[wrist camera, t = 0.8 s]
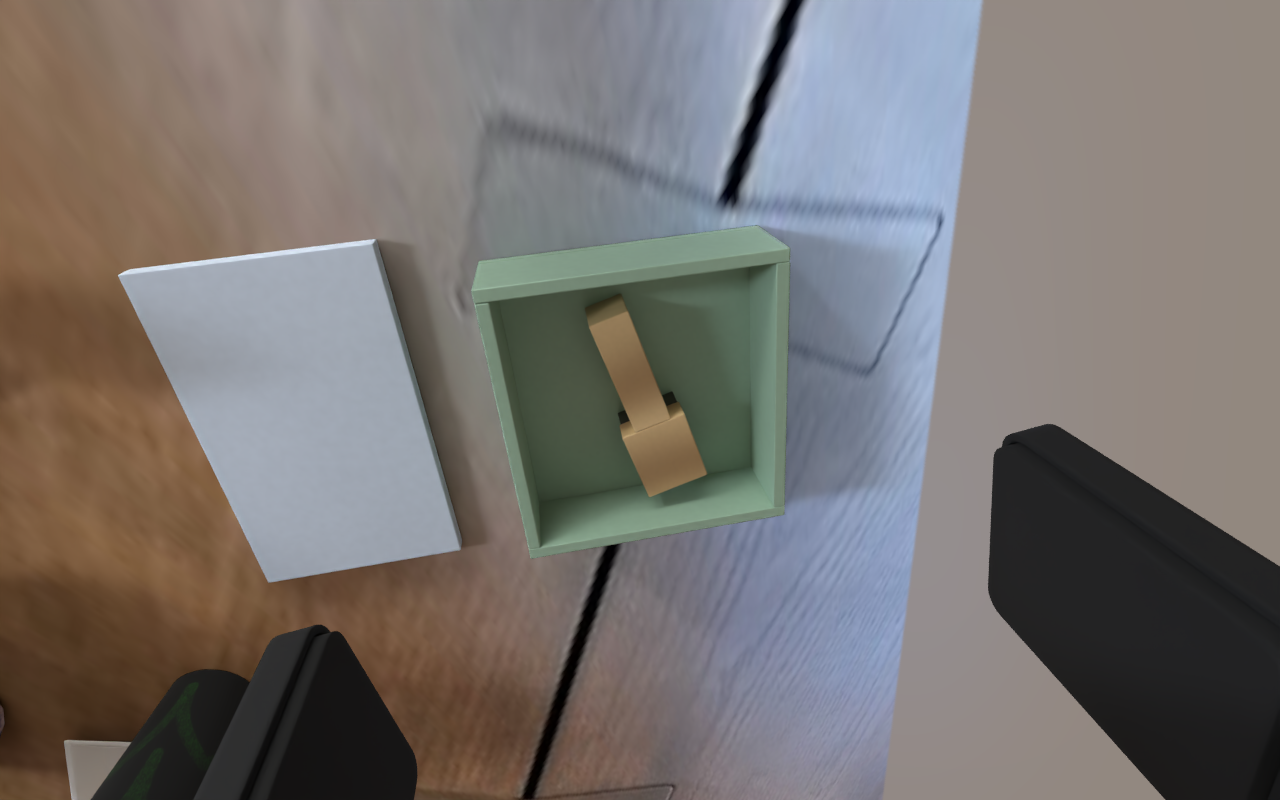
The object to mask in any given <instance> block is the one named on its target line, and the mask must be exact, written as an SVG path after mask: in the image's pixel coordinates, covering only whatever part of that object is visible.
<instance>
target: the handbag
mask: <svg viewBox="0 0 1280 800" xmlns="http://www.w3.org/2000/svg"><path fill="white" fill-rule="evenodd" d="M4 724H5V722H4V712H3V708H2V706H1V705H0V736H1V733H2V730H3V727H4Z"/></svg>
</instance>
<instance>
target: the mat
mask: <svg viewBox="0 0 1280 800" xmlns="http://www.w3.org/2000/svg"><path fill="white" fill-rule="evenodd" d="M118 276H119V278H120V280H121V282H122V284H123V287H124V289H125V291H126V293H127V295H128V297H129V299H130V301H131V303H132V305H133V307H134V309H135V311H136V313H137V315H138V317H139V319H140V321H141V323H142V325H143V327H144V329H145V331H146V334H147V336H148V338H149V340H150V342H151V344H152V346H153V348H154V350H155V352H156V354H157V356H158V358H159V360H160V362H161V364H162V366H163V368H164V370H165V372H166V374H167V376H168V378H169V380H170V383H171V385H172V387H173V389H174V391H175V393H176V395H177V397H178V399H179V401H180V403H181V405H182V407H183V409H184V411H185V413H186V415H187V417H188V419H189V421H190V423H191V425H192V427H193V429H194V432H195V434H196V436H197V438H198V440H199V442H200V444H201V446H202V448H203V450H204V452H205V454H206V456H207V458H208V460H209V462H210V464H211V466H212V468H213V470H214V472H215V474H216V476H217V478H218V481H219V483H220V485H221V487H222V489H223V491H224V493H225V495H226V497H227V499H228V501H229V503H230V505H231V507H232V509H233V511H234V513H235V515H236V517H237V519H238V521H239V523H240V525H241V527H242V530H243V532H244V534H245V536H246V538H247V540H248V542H249V544H250V546H251V548H252V550H253V552H254V554H255V556H256V558H257V560H258V562H259V564H260V566H261V568H262V570H263V572H264V574H265V576H266V579H267V581H268V582H269V583H270V582H276V581H282V580H288V579H293V578H299V577H305V576H311V575H317V574H323V573H329V572H335V571H340V570H346V569H352V568H358V567H364V566H370V565H376V564H382V563H387V562H393V561H399V560H405V559H411V558H417V557H423V556H429V555H434V554H440V553H446V552H452V551H458V550H461V545H462V538H461V534H460V531H459V527H458V524H457V520H456V517H455V513H454V510H453V506H452V503H451V499H450V496H449V492H448V489H447V485H446V482H445V478H444V475H443V471H442V468H441V464H440V461H439V457H438V454H437V450H436V447H435V443H434V440H433V436H432V433H431V429H430V426H429V422H428V419H427V415H426V412H425V408H424V405H423V401H422V397H421V394H420V390H419V387H418V383H417V380H416V376H415V373H414V369H413V366H412V362H411V359H410V355H409V352H408V348H407V345H406V341H405V338H404V334H403V331H402V327H401V324H400V320H399V317H398V313H397V310H396V306H395V303H394V299H393V296H392V292H391V289H390V285H389V282H388V278H387V275H386V271H385V268H384V264H383V260H382V257H381V253H380V250H379V246H378V243H377V240H376V239H372V240H364V241H356V242H347V243H339V244H331V245H323V246H315V247H307V248H299V249H291V250H283V251H275V252H267V253H259V254H250V255H242V256H234V257H226V258H218V259H210V260H202V261H194V262H186V263H178V264H170V265H161V266H153V267H145V268H137V269H129V270H127V271H125V272H123V273H121V274H119V275H118Z"/></svg>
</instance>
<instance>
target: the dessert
mask: <svg viewBox="0 0 1280 800" xmlns="http://www.w3.org/2000/svg"><path fill="white" fill-rule="evenodd" d="M130 743H131V742H123V741H92V740H65V741H64V746H65V753H66V761H67V768H68V775H69V782H70V790H71V797H72V800H91V798H92V797H93V795H94V794H95V793H96V791H97V790H98V788H99V787H100V786H101V784H102V783H103V781H104V780H105V779H106V777H107V776H108V774H109V773H110V772H111V770H112V769H113V767H114V766H115V765H116V763H117V762H118V760H119V759H120V758H121V756H122V755H123V753H124V752H125V751H126V749H127V748H128V746H129V745H130Z"/></svg>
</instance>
